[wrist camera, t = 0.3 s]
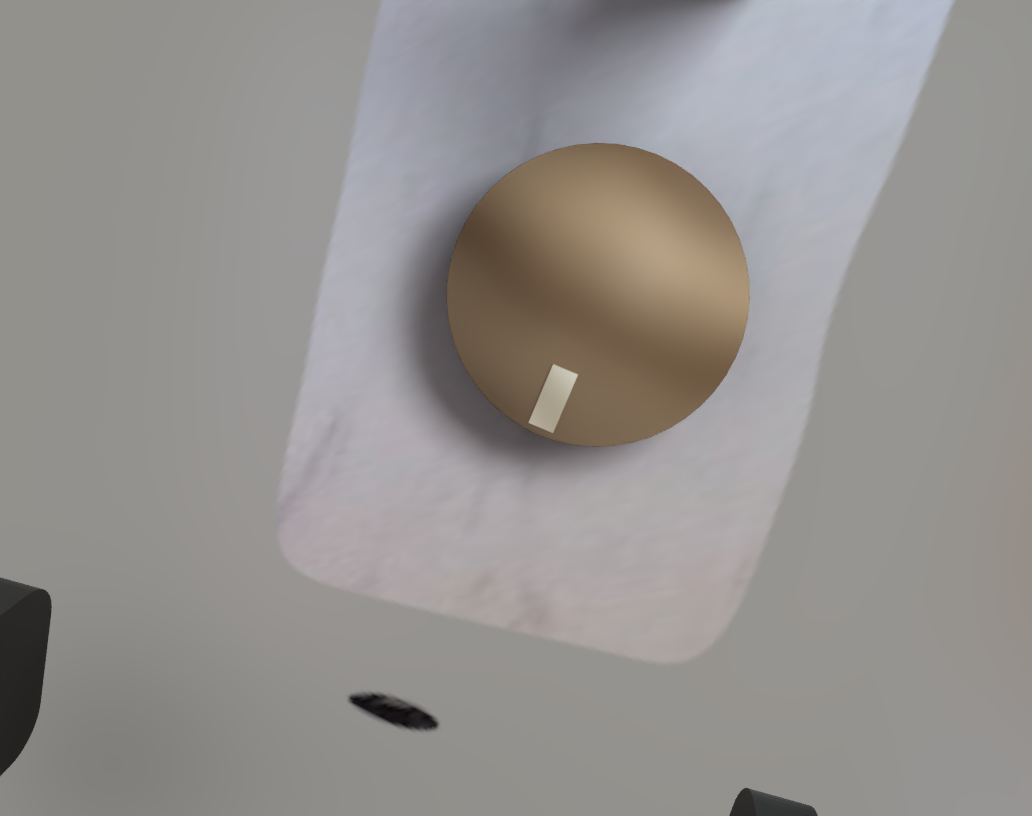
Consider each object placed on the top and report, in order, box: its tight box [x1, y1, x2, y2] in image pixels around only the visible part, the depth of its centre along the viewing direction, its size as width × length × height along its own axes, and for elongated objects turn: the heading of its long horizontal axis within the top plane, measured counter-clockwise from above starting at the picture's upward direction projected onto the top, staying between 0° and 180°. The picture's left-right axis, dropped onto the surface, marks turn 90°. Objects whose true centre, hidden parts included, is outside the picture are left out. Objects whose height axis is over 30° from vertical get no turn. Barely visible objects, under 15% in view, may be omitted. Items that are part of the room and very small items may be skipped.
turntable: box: [447, 143, 750, 447], centre depth 35 cm, size 11×11×2 cm
